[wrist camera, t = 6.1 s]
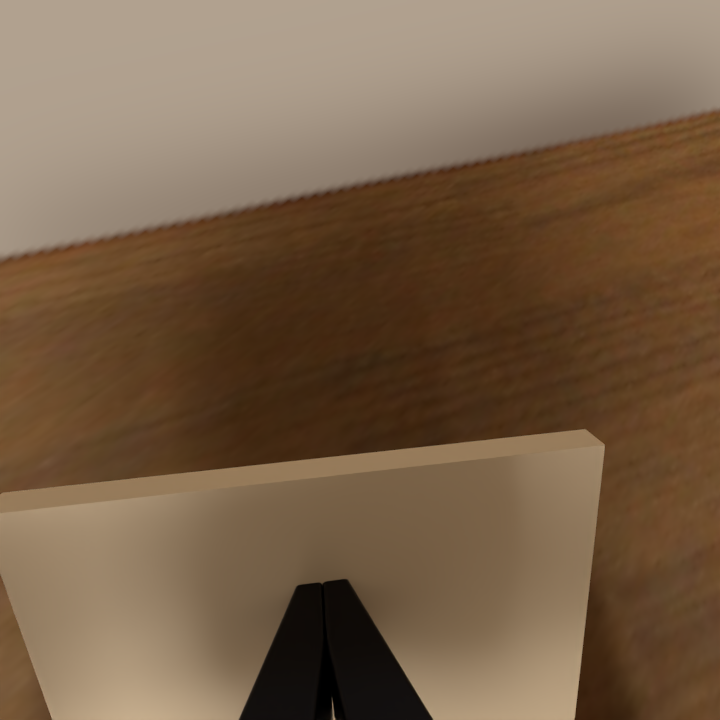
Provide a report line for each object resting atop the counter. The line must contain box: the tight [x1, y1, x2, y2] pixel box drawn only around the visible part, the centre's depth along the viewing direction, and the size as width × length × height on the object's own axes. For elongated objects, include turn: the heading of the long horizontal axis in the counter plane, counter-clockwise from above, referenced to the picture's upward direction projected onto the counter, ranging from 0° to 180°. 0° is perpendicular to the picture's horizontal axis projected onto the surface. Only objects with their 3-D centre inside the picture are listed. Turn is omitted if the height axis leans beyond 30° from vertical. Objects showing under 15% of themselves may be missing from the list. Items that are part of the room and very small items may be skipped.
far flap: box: [0, 429, 605, 720], centre depth 9 cm, size 1×10×7 cm
